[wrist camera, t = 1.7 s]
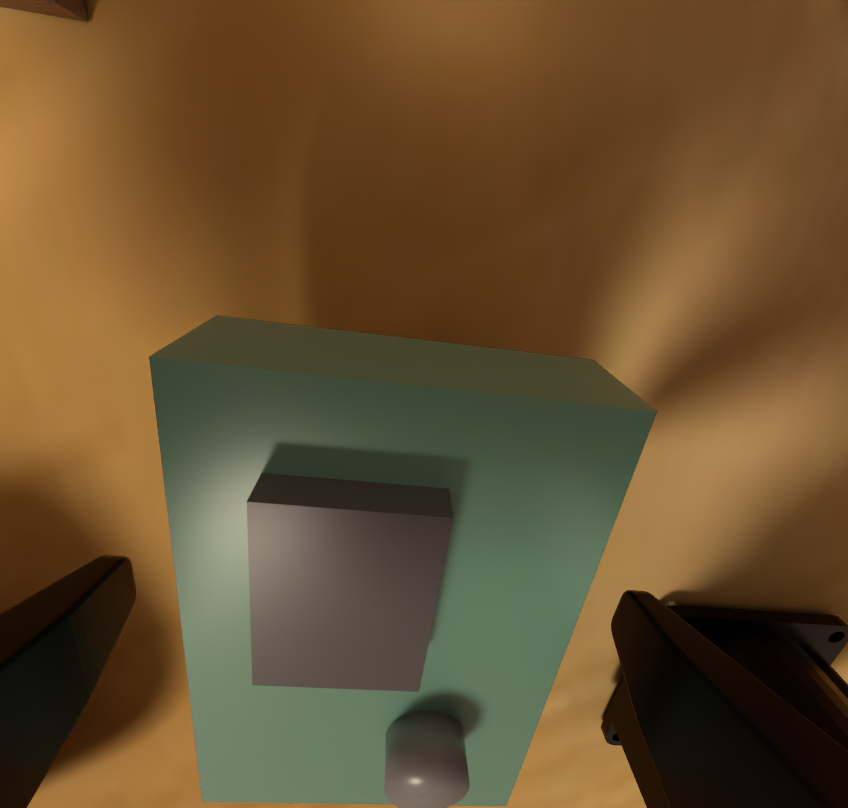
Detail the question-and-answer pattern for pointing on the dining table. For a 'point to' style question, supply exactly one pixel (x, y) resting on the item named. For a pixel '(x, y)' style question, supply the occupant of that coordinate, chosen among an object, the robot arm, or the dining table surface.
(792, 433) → the dining table surface
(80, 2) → the chassis
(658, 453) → the dining table surface
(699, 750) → the robot arm
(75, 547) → the dining table surface
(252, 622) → the board
